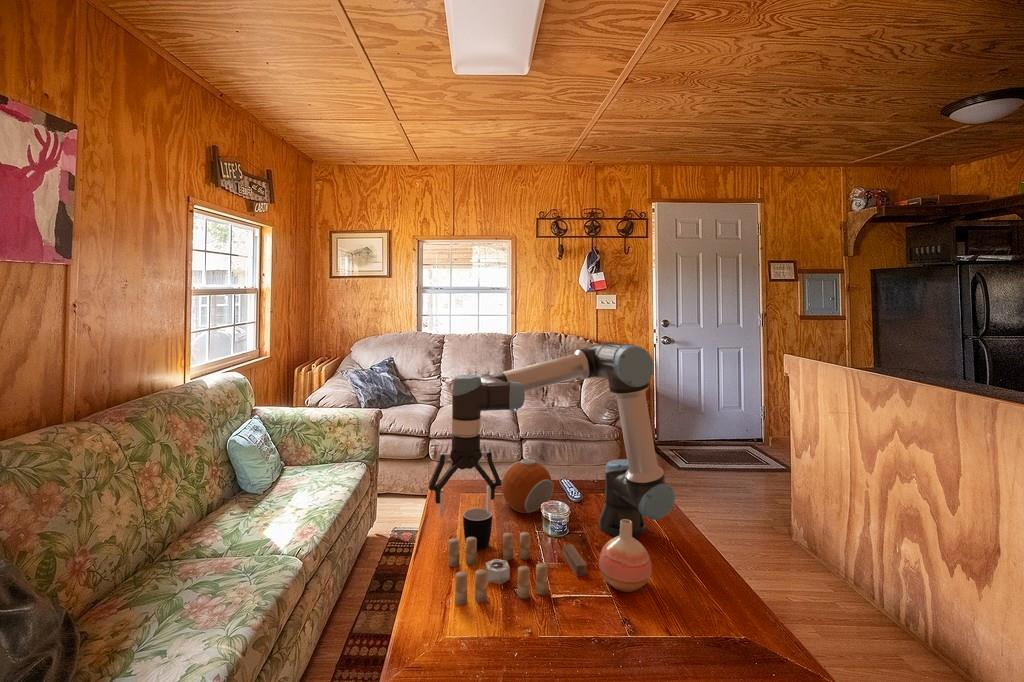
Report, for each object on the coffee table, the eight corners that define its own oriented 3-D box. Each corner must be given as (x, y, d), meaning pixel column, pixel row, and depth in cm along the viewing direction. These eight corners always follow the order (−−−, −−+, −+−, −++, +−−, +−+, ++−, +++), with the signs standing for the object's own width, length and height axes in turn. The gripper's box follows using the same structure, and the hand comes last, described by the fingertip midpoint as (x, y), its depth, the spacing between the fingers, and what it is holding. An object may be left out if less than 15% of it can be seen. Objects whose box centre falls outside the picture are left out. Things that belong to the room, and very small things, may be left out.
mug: (496, 549, 147) (496, 517, 146) (468, 555, 143) (468, 522, 142) (482, 532, 158) (482, 502, 157) (456, 537, 154) (456, 506, 153)
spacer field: (527, 553, 145) (528, 530, 144) (549, 595, 123) (549, 569, 123) (448, 561, 139) (448, 538, 139) (456, 607, 118) (456, 579, 118)
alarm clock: (528, 492, 193) (529, 450, 192) (561, 506, 180) (562, 461, 179) (492, 505, 180) (492, 460, 179) (524, 520, 167) (525, 472, 166)
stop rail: (571, 553, 145) (572, 544, 145) (586, 575, 133) (586, 564, 133) (562, 554, 144) (562, 545, 144) (576, 576, 132) (576, 566, 132)
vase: (652, 576, 133) (654, 514, 132) (649, 605, 120) (651, 537, 119) (602, 567, 137) (604, 507, 136) (594, 594, 124) (596, 528, 123)
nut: (505, 569, 136) (505, 557, 135) (510, 583, 129) (510, 570, 129) (484, 571, 134) (484, 559, 134) (488, 585, 127) (488, 572, 127)
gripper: (507, 428, 133) (506, 504, 135) (419, 431, 128) (418, 510, 130) (513, 435, 126) (512, 515, 128) (420, 439, 121) (419, 522, 122)
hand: (465, 512), depth 129 cm, fingers open, 12 cm apart
